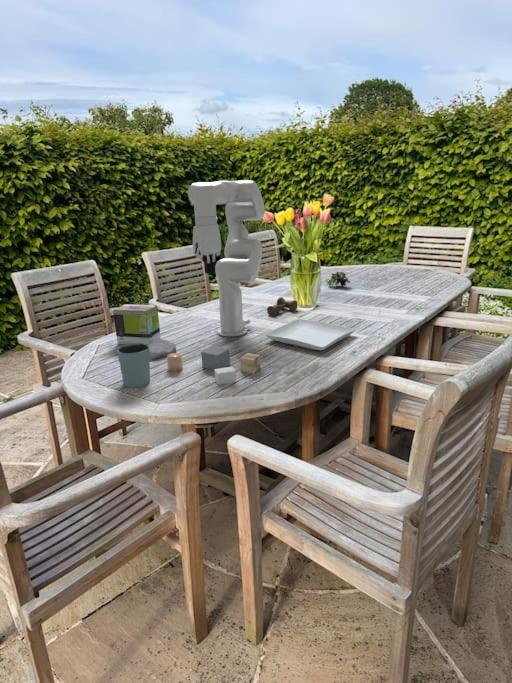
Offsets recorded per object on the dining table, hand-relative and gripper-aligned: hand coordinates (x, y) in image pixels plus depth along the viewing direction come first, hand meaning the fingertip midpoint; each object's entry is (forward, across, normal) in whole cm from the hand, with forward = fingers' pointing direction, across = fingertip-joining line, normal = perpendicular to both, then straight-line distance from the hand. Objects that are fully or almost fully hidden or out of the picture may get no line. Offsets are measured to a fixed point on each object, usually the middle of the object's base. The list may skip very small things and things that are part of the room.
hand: (209, 273), depth 168 cm
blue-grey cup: (+29, +37, +2) cm, 47 cm away
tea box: (+30, +12, -32) cm, 46 cm away
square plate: (+31, -33, +21) cm, 50 cm away
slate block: (+30, +11, +12) cm, 34 cm away
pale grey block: (+30, +18, +24) cm, 42 cm away
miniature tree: (+33, -118, -20) cm, 125 cm away
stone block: (+30, +16, -14) cm, 37 cm away
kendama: (+32, -58, -13) cm, 68 cm away
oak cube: (+30, +6, +24) cm, 39 cm away
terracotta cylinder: (+30, +22, +3) cm, 37 cm away
